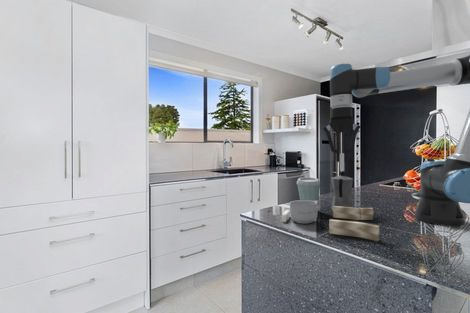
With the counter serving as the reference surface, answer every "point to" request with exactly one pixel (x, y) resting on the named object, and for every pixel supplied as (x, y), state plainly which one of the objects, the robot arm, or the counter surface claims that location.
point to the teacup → (304, 210)
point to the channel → (353, 223)
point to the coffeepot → (341, 191)
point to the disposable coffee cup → (308, 188)
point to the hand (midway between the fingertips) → (342, 170)
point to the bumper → (286, 216)
